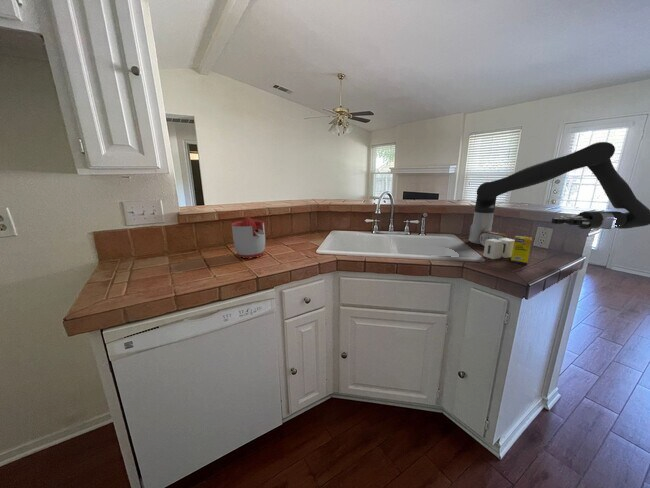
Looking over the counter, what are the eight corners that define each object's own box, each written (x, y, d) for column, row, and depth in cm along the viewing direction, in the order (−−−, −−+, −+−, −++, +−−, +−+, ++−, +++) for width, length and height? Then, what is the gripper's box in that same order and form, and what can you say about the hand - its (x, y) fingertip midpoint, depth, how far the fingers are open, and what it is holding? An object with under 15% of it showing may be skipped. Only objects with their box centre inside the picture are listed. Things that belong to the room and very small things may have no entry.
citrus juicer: (250, 263, 116) (245, 220, 111) (228, 257, 127) (223, 217, 121) (276, 255, 128) (273, 215, 123) (254, 249, 139) (250, 212, 133)
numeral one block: (482, 256, 122) (485, 239, 119) (490, 254, 123) (493, 238, 121) (492, 259, 117) (495, 242, 115) (500, 257, 119) (503, 241, 117)
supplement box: (527, 264, 110) (532, 240, 107) (510, 262, 113) (514, 238, 110) (527, 260, 114) (532, 237, 111) (510, 258, 118) (515, 235, 115)
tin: (510, 251, 129) (513, 234, 126) (507, 252, 127) (510, 235, 125) (479, 244, 141) (481, 229, 139) (476, 245, 139) (478, 230, 137)
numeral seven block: (495, 254, 123) (498, 238, 121) (503, 253, 125) (506, 237, 122) (505, 258, 118) (508, 241, 116) (513, 256, 120) (516, 240, 118)
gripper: (581, 209, 114) (542, 210, 114) (613, 213, 101) (569, 214, 101) (577, 225, 116) (539, 226, 116) (608, 232, 103) (565, 233, 103)
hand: (553, 221), depth 109 cm, fingers closed
